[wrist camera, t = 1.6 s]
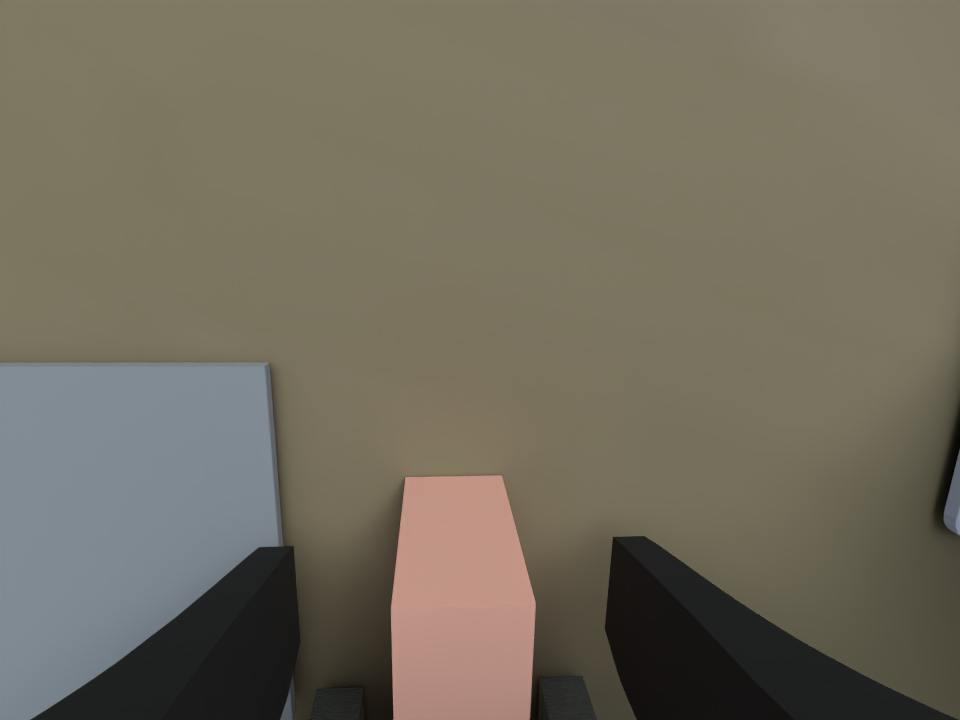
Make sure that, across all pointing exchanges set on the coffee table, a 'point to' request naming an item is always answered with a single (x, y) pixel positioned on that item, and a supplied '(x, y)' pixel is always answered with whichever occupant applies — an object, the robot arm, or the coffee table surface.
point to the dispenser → (559, 705)
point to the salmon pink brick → (460, 604)
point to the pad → (122, 509)
